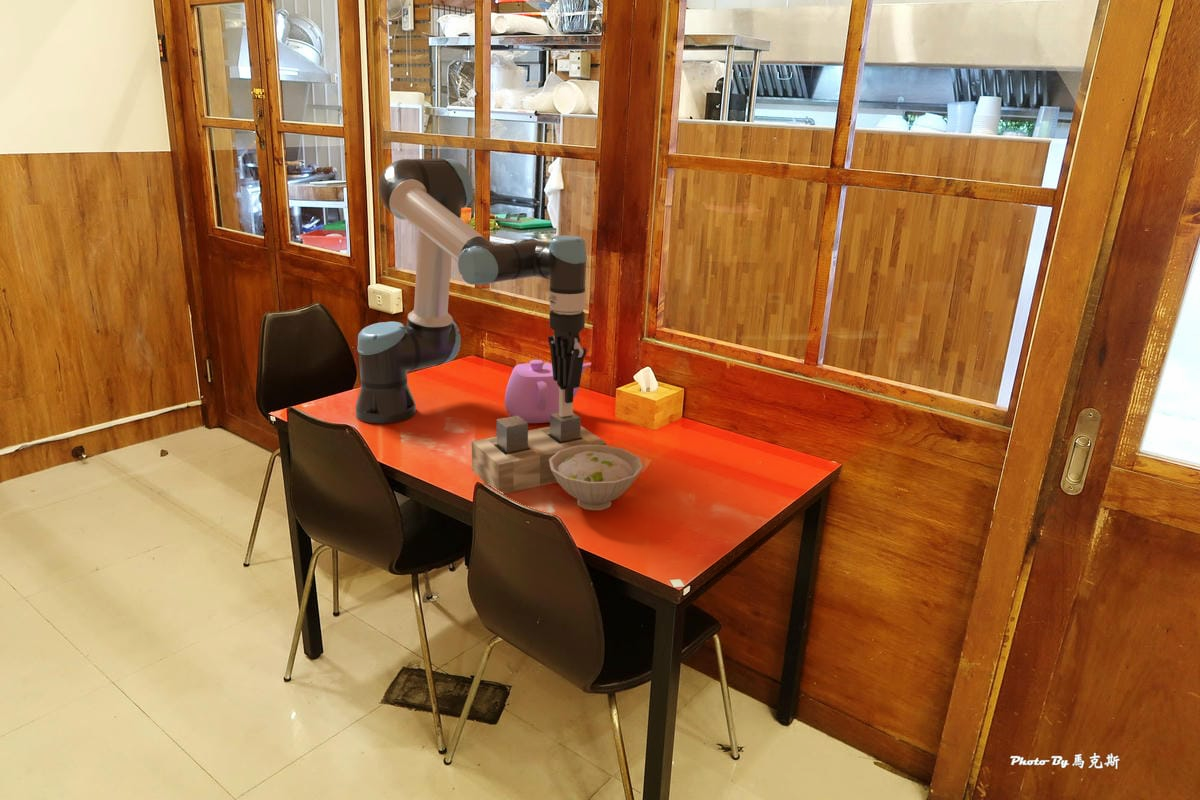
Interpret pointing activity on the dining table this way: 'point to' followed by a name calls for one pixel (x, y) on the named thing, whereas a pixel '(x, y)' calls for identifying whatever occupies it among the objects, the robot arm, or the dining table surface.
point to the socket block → (522, 460)
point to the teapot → (534, 392)
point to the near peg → (512, 435)
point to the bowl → (595, 473)
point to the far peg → (565, 428)
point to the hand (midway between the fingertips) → (565, 414)
